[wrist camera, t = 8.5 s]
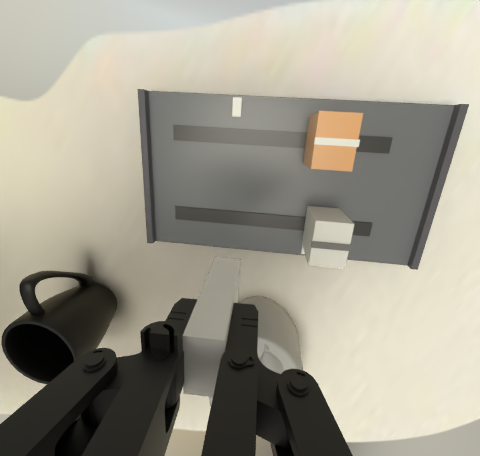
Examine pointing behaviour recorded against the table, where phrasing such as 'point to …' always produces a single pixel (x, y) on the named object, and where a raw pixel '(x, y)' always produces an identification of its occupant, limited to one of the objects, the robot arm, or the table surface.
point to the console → (291, 172)
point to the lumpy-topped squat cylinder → (275, 336)
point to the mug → (57, 326)
